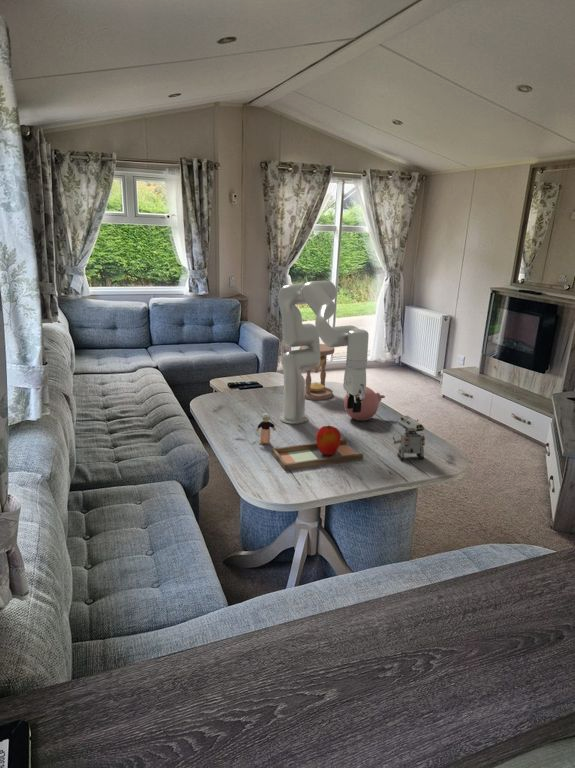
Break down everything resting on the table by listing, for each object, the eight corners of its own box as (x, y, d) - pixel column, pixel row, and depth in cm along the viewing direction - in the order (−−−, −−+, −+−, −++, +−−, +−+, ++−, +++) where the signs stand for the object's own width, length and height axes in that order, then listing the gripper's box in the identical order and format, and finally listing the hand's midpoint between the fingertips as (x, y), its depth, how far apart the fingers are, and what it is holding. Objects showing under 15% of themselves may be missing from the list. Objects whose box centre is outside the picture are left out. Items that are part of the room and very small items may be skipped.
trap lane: (271, 453, 202) (271, 448, 201) (345, 444, 212) (345, 439, 211) (284, 470, 188) (284, 465, 188) (362, 459, 199) (363, 454, 198)
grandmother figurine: (257, 445, 209) (257, 415, 205) (255, 442, 212) (255, 412, 209) (276, 444, 211) (276, 414, 207) (274, 440, 214) (274, 410, 211)
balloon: (392, 422, 237) (395, 389, 232) (352, 427, 230) (354, 393, 225) (375, 411, 250) (377, 379, 246) (337, 415, 244) (339, 383, 239)
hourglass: (316, 387, 284) (317, 342, 277) (339, 395, 272) (341, 348, 264) (291, 393, 273) (292, 346, 266) (314, 402, 261) (316, 353, 253)
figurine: (413, 449, 208) (416, 413, 204) (425, 461, 198) (429, 424, 193) (391, 450, 207) (394, 414, 203) (402, 463, 196) (405, 425, 192)
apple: (313, 457, 199) (314, 427, 195) (318, 448, 207) (319, 419, 204) (337, 461, 196) (338, 431, 193) (342, 451, 205) (343, 422, 201)
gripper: (337, 358, 201) (335, 404, 206) (357, 369, 186) (354, 418, 191) (355, 357, 203) (352, 402, 209) (376, 368, 188) (373, 416, 194)
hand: (353, 409), depth 200 cm, fingers open, 3 cm apart
